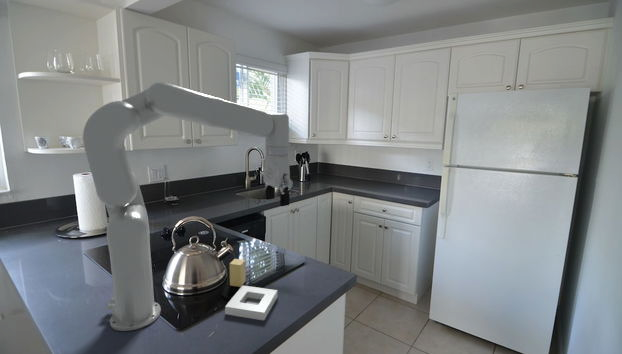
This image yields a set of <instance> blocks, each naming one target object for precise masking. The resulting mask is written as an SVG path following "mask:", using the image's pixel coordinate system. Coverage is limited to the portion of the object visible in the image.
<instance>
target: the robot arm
mask: <svg viewBox="0 0 622 354" xmlns="http://www.w3.org/2000/svg"><path fill="white" fill-rule="evenodd" d="M165 116H166V117H171V118H174V119H178V120H182V121H186V122H190V123H194V124H198V125H202V126H204V127H205V126H206V127H209V128H220V129H226V130H231V131H235V132H239V133H244V134H245V135H247V136H250V137H257V138H265V157H264V164H263V182H264V187H265V188H264V189H265V199H266V200H273V199H275V198H276V197H275V191H276V190H275V189H277V188H279V191H280V194H279V196H280V197H279V205H280V206H281V207H286V206H290V194H291V191H292V189H293V188H292V187H293V184H294V181H292V179H291V177H290V176H291V171H290V169H291V168H290V160H289V157H290V156H289V148H290V147H289V142H290V139H289V138H290V135H289V132H290V126H289V125H290V122H289V121H290V120H289V116H288V114H287V113H283V112H282V113H281V112H270V113H268V112H265V111H263V110H260V109H258V108H257V109H256V108H254V107H250V106H247V105H243V104H239V103H236V102H232V101H229V100H224V99H223V98H220V97H215V96H212V95H208V94H204V93H201V92H198V91H195V90H192V89H188V88H185V87H182V86H180V85H179V86H178V85H175V84H171V83H169V82H163V81H158V82H155V83H154V82H153V84H151V85H150V86H149V87H148V88H147V89H144V90H142V91H140V92H138V93H137V94H134V95H132V96H129V97H128V98H127V97H126V98H125V99H123V100H115V101H110V102H108V103H106V104H104V105H102V106H100V107H99V108H98V109H96V110H95V111H94V112H93V113H92V114H91V115H90V116H89V117H88V119H87V121H86V122H85V125H84V127H83V131H82V132H83V134H82V143H83V147H84V152H85V155H86V158H87V162H88V167H89V170H90V173H91V176H92V179H93V183H94V187H95V191H96V195H97V197H98V199H99V200H100V201H101V203H103V204H104V205H105V208H106V212H107V214H108V217H109V219H108V224H107V228H106V241H107V247H108V252H109V259H110V261H109V262H110V268H111V269H110V270H111V275H112V276H111V278H112V287H113V288H112V289H113V295H114V296H112V297H111V298H110V299H109V301H108V304H106V306H105V309H106V310H112V315H111V317H110V319H109V326H110V327H111V328H112V329H113V330H115V331H118V332H119V331H120V332H130V331H134V330H139V329H142V328H144V327H146V326H148V325H150V324H152V323H153V322H155V321H156V320H157V319H158V318H159V316H160V314H161V311H162V309H161V305H160V304H159V303H158V302H156V301H155V296H154V293H155V292H154V281H153V270H152V269H153V268H152V267H153V266H152V257H151V255H152V254H151V244H150V243H151V239H150V238H151V236H150V224H149V217H148V211H147V207H146V206H145V202H144V198H143V194H142V191H141V187H140V184H139V180H138V177H137V175H136V174H135V173H134V172H133V171H132V169H131V166H130V163H129V157H128V153H127V150H126V146H125V140H126V139H127V136H129V135H131V134H133V133H134V132H135V131H137V130H139V129H140V128H143V127H145V126H147V125H149V124H152V123H153V122H155V121H158V120H160V119H161V118H163V117H165Z"/></svg>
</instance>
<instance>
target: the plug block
mask: <svg viewBox="0 0 622 354" xmlns="http://www.w3.org/2000/svg"><path fill="white" fill-rule="evenodd" d="M246 274H247V271H246V259H241V258H240V259H239V258H234V259H233V260H232V261H231V262H229V285H230V286H231V287H239V288H241V287H242V285H243V286H244V284H245V282H246V281H247V279H246V278H247V277H246V276H247V275H246Z"/></svg>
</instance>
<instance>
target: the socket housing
mask: <svg viewBox="0 0 622 354" xmlns="http://www.w3.org/2000/svg"><path fill="white" fill-rule="evenodd" d="M277 299H278V289H270V288H263V287H258V286H257V287H256V286H250V285H249V286H248V285H244V284H243V285H242V286H241V287H239V289H238V291H236V293H235V294H234V295H233V296H232V297H231V299H230V300H229V301H228V302H227V304H226V305H225V308H224V312H225V313H224V315H229V316H233V317H234V316H235V317H241V318H247V319H252V320H257V321H258V320H259V321H265V320H266V318H267V317H268V314H270V311H271V310H272V308H273V306H274V304H275V303H276V301H277Z"/></svg>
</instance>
